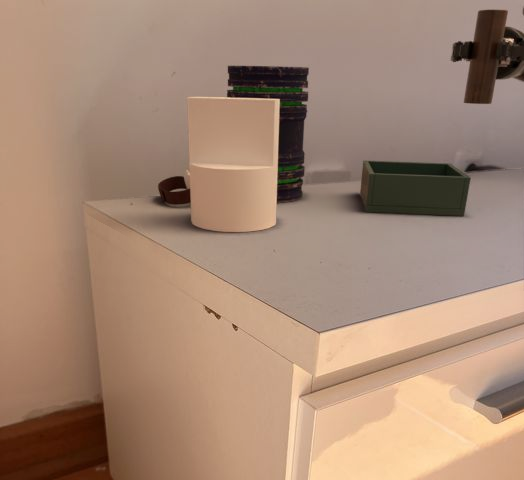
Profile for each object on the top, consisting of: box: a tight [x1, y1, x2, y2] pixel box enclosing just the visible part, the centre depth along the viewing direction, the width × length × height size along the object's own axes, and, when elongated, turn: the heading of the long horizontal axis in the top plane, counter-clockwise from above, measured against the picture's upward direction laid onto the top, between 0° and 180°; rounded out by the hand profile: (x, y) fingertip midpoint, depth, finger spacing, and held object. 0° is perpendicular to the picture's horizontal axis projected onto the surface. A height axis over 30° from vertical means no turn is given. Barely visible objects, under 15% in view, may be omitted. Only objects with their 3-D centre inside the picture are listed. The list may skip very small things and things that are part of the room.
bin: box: [359, 159, 472, 217], centre depth 70 cm, size 11×11×4 cm
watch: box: [157, 169, 191, 206], centre depth 68 cm, size 8×5×4 cm, turn 27°
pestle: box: [463, 9, 509, 105], centre depth 83 cm, size 4×4×12 cm
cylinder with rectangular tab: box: [186, 96, 280, 233], centre depth 58 cm, size 9×9×12 cm
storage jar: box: [226, 65, 310, 204], centre depth 71 cm, size 10×10×15 cm
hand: (482, 50), depth 80 cm, fingers closed on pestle, 4 cm apart
